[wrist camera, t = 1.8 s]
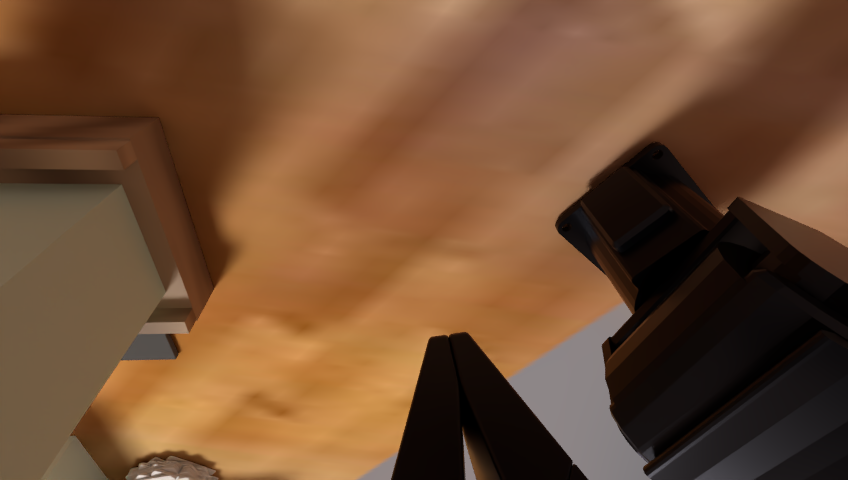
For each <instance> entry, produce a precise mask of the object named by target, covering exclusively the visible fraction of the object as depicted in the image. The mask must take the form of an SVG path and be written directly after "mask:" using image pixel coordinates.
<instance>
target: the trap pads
mask: <svg viewBox="0 0 848 480" xmlns="http://www.w3.org/2000/svg"><path fill="white" fill-rule="evenodd" d="M177 356H178V352H177V349H176V347H175V345H174V343H173V340H172V338H171V336H170V334H138V335H137V336H136V338H135V339H134V341H133V342H132V344H131V345H130V347H129V348H128V350H127V351H126V353H125V354H124V356H123V357H122V359H121V360H158V359H176V358H177Z"/></svg>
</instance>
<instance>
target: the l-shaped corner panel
mask: <svg viewBox="0 0 848 480" xmlns="http://www.w3.org/2000/svg"><path fill="white" fill-rule="evenodd" d="M138 466H139V467H136V468H131V470H129V471H130V472H129V473H128V475H127V476H126V477H125V478H126V479H127V480H218V479H219V478H217V477H214V476H210V475H213V474H214V473H215V472H216V471H215V470H212V469H210V468H207V467H205V466H201V465H198V464H196V463H193V462H190V461H187V460H184V459H181V458H178V457H175V456H169V457H168V458H167V459H166V460H162V459H160V458H158V457H154V458H153V459H152V460H150V461H149V462H148V463H139V465H138ZM41 480H108V478H107V477H106V476H105V474H104V473H103V472H102V470H101V469H100V468H99V466H98V465H97V464H96V463H95V461H94V460H93V459H92V457H91V456H90V455H89V453H88V452H87V451H86V449H85V448H84V447H83V445H82V444H81V443H80V441H79V440H78V439H77V437H76V436H69V438H68V439H67V441H66V442H65V444H64V445H63V447H62V448H61V450H60V451H59V453H58V454H57V456H56V457H55V459H54V460H53V462H52V463H51V465H50V466H49V468H48V469H47V471H46V472H45V474H44V475H43V477H42V478H41Z"/></svg>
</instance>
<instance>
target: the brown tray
mask: <svg viewBox="0 0 848 480" xmlns="http://www.w3.org/2000/svg"><path fill="white" fill-rule="evenodd" d="M0 183H33V184H122V186H123V189H124V191H125V194H126V196H127V198H128V201H129V203H130V206H131V208H132V211H133V213H134V216H135V218H136V220H137V223H138V225H139V228H140V230H141V233H142V235H143V238H144V240H145V242H146V245H147V247H148V250H149V252H150V255H151V257H152V260H153V262H154V264H155V267H156V269H157V272H158V274H159V277H160V279H161V282H162V284H163V286H164V289H165V291H166V293H165V295H164V296H163V298H162V299H161V301H160V302H159V304H158V305H157V307H156V308H155V310H154V311H153V313H152V314H151V315H150V317H149V318H148V320H147V321H146V323H145V324H144V326H143V327H142V329H141V330H140V332H139V333H138V334H178V333H189V332H190V331H191V329H192V327H193V325H194V323H195V321H196V320H198V318H199V316H200V314H201V312H202V310H203V309H204V307H205V305H206V303H207V301H208V299H209V297H210V295H211V294H212V292H213V290H214V288H213V285H212V282H211V279H210V275H209V272H208V269H207V266H206V263H205V260H204V257H203V254H202V250H201V247H200V244H199V241H198V238H197V235H196V232H195V229H194V226H193V222H192V219H191V216H190V213H189V210H188V207H187V204H186V201H185V198H184V194H183V191H182V188H181V185H180V182H179V179H178V176H177V173H176V170H175V166H174V163H173V160H172V157H171V154H170V151H169V148H168V145H167V142H166V138H165V135H164V132H163V129H162V126H161V123H160V120H159V117H110V116H60V115H10V114H0Z"/></svg>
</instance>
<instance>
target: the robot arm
mask: <svg viewBox="0 0 848 480" xmlns="http://www.w3.org/2000/svg"><path fill="white" fill-rule="evenodd" d="M657 150H659V151H658V153H657V154H656V155H655V156H653V153H654V152H655V151H657ZM728 210H729V211H728V212H727V213H726V214H725V215H723V214H722V213H720V212H719V211H718V210H717V209H715V207H714V206H713V205H712V204H711V202H710V201H709V200H708V199H707V197H706V196H705V195H704V194H703V192H702V191H701V190H700V189H699V187H698V186H697V185H696V183H695V182H694V181H693V180H692V178H691V177H690V176H689V175H688V173H687V172H686V171H685V170H684V168H683V167H682V166H681V165H680V163H679V162H678V161H677V159H676V158H675V157H674V156H673V154H672V153H671V152H670V151H669V149H668V148H667V147H666V146H664V145H663V144H661V143H660V142H654V143H651V144H650V145H648V146H647V147H646V148H644V149H643V150H642V151H641V152H640V153H638V154H637V155H636V156H635V157H633V158H632V159H631V160H630V161H629V162H627V163H626V164H625V165H624V166H622V167H621V168H620V169H618V170H617V171H616V172H615V173H613V174H612V175H611V176H610V177H609V178H607V179H606V180H605V181H604V182H602V183H601V184H600V185H599V186H598V187H596V188H595V189H594V190H593V191H591V192H590V193H589V194H588V195H587V196H585V197H584V198H583V199H582V200H581V201H580V202H578V203H577V204H576V205H575V206H574V207H572V208H571V209H570V210H569V211H567V212H566V213H565V214H564V215H563V216H561V217H560V218H559V219H558V220H557V221H556V224H555V227H556V229H557V231H558V232H559V234H561V235H562V236H563V237H564V238H565V239H566V240H567V241H568V242H570V243H571V244H572V245H573V246H574V247H575V248H576V249H577V250H578V251H580V252H581V253H582V254H583V255H584V256H585V257H586V258H587V259H589V260H590V261H591V262H592V263H593V264H594V265H595V266H596V267H598V268H599V269H600V270H601V271H602V272H603V273H604V274H605V275H607V277H608V278H609V280H610V281H611V283H612V284H613V286H614V287H615V289H616V290H617V292H618V293H619V295H620V296H621V298H622V299H623V301H624V302H625V304H626V305H627V306H628V308H629V310H630V311H631V313H632V314H633V315H632V316H631V317H630V318H629V319H628V321H626V323H625V324H624V325H623V326H622V327H621V328H620V329H619V330H618V331H617V332H616V333H615V335H614V336H613V337H609V338H608V339H607V340H606V341H605V342H604V343H603V344H602V350H603V356H604V363H605V380H606V382H607V386H608V389H609V394H610V400H611V405H610V411H611V415H612V417H613V418H614V420H615V422H616V423H617V425H618V427H619V429H620V431H621V433H622V434H623V436H624V437H625V439H626V440H627V442H628V443H629V444H630V445H631V446H632V448H633V449H634V450H635V451H636V452H637V453H638V454H639V455H640V456H641V457H642V458H643V459H644V460H645V461H646V462H647V463H648V464H646V465H645V466H644V467H643V470H644V472H645V474H646V475H647V476H648V477H649V478H650V479H652V480H848V248H847V247H845V246H844V245H842V244H840V243H839V242H837V241H835V240H834V239H832V238H830V237H829V236H827V235H825V234H824V233H822V232H820V231H818V230H816V229H813V228H811V227H809V226H806V225H804V224H801V223H799V222H797V221H794V220H792V219H790V218H787V217H785V216H783V215H780V214H778V213H776V212H773V211H771V210H768V209H766V208H764V207H761V206H759V205H757V204H754V203H752V202H750V201H747V200H745V199H743V198H740V197H737V198H736V199H735V200H734V201H733V202H732V204H731V205H730V206H729V207H728ZM565 224H569V225H568V226H567V227H563V225H565ZM562 227H563V228H562ZM463 435H464V438H465V442H466V446H467V449H468V453H469V456H470V459H471V463H472V466H473V469H474V473H475V476H476V480H588V479H587V478H586V476H585V475H584V474H583V473H582V472H581V470H580V469H579V468H578V467H577V465H575V464H573V465H572V463H573V462H572V460H571V458H570V457H569V456H568V455H567V454H566V452H565V451H564V450H563V449H562V447H561V446H560V445H559V444H558V442H557V441H556V440H555V439H554V438H553V436H552V435H551V434H550V433H549V431H548V430H547V429H546V428H545V427H544V425H543V424H542V423H541V422H540V420H539V419H538V418H537V417H536V416H535V414H534V413H533V412H532V411H531V409H530V408H529V407H528V406H527V405H526V403H525V402H524V401H523V400H522V398H521V397H520V396H519V395H518V394H517V392H516V391H515V390H514V389H513V388H512V386H511V385H510V384H509V382H508V381H507V380H506V379H505V378H504V376H503V375H502V374H501V373H500V371H499V370H498V369H497V368H496V367H495V365H494V364H493V363H492V362H491V360H490V359H489V358H488V357H487V356H486V354H485V353H484V352H483V351H482V349H481V348H480V347H479V346H478V345H477V343H476V342H475V341H474V340H473V338H472V337H471V336H470V335H469V334H468V333H466V332H461V333H454V334H450V335H449V338H448V336H447V335H441V336H434V337H431V338H430V339H429V341H428V344H427V348H426V351H425V355H424V359H423V363H422V366H421V370H420V374H419V378H418V381H417V385H416V389H415V392H414V396H413V400H412V404H411V407H410V411H409V415H408V418H407V422H406V426H405V430H404V433H403V437H402V441H401V445H400V448H399V452H398V456H397V459H396V463H395V467H394V471H393V474H392V478H391V480H465V462H464V445H463Z"/></svg>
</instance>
